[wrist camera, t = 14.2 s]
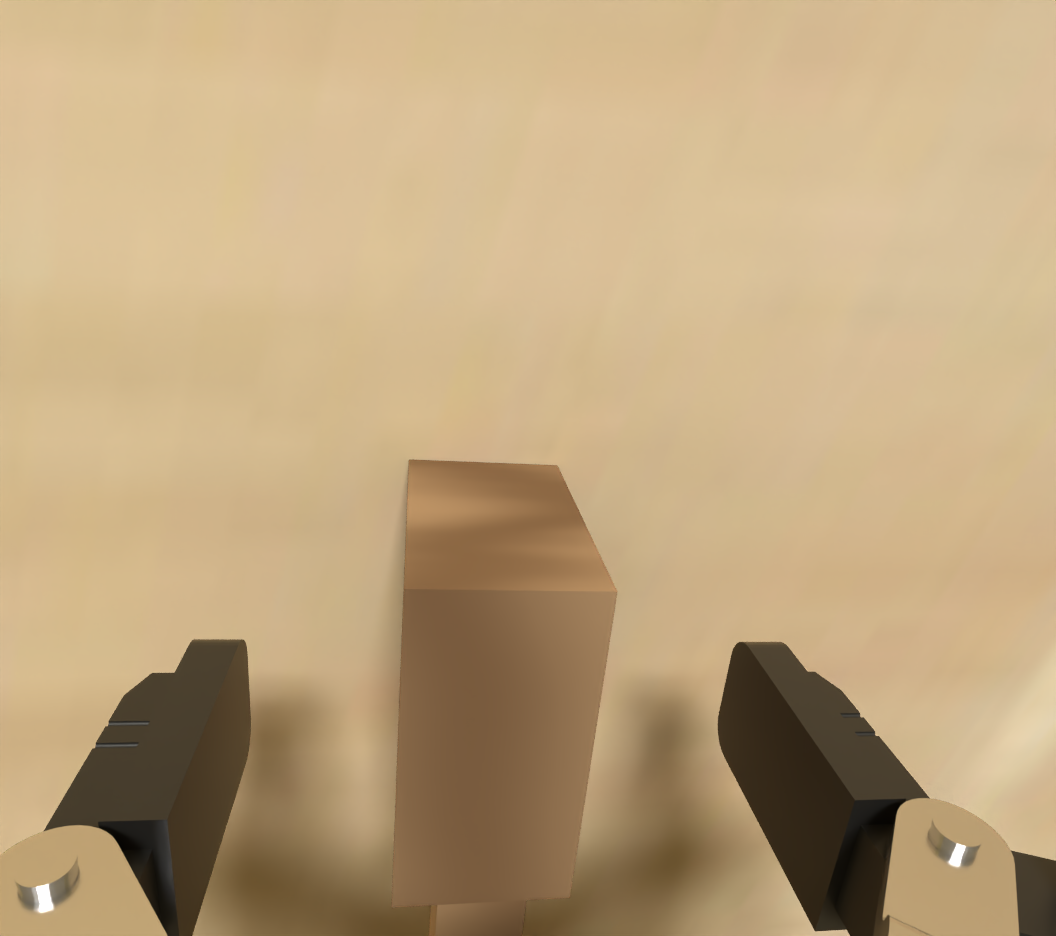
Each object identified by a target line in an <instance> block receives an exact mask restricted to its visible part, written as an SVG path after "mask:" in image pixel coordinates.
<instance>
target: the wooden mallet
mask: <svg viewBox="0 0 1056 936" xmlns="http://www.w3.org/2000/svg"><path fill="white" fill-rule="evenodd" d="M616 597H617V590H616V588H615V586H614V584H613V582H612V579H611V577H610V575H609V573H608V571H607V569H606V567H605V565H604V563H603V561H602V558H601V556H600V554H599V552H598V550H597V548H596V546H595V544H594V542H593V539H592V537H591V535H590V533H589V531H588V529H587V527H586V525H585V523H584V521H583V518H582V516H581V514H580V512H579V510H578V508H577V506H576V504H575V502H574V500H573V497H572V495H571V493H570V491H569V489H568V487H567V485H566V483H565V481H564V479H563V476H562V474H561V472H560V470H559V468H558V466H556V465H530V464H505V463H480V462H455V461H430V460H409V470H408V495H407V521H406V546H405V571H404V597H403V622H402V647H401V673H400V698H399V724H398V751H397V778H396V804H395V831H394V858H393V885H392V907H410V906H429V905H431V910H430V925H429V936H522V932H523V924H524V916H525V908H526V900H538V899H556V898H570V893H571V887H572V880H573V874H574V867H575V861H576V855H577V848H578V842H579V835H580V829H581V822H582V816H583V809H584V803H585V797H586V790H587V784H588V777H589V771H590V764H591V758H592V752H593V745H594V739H595V732H596V726H597V719H598V713H599V707H600V700H601V694H602V687H603V681H604V674H605V668H606V662H607V655H608V649H609V642H610V636H611V629H612V623H613V617H614V610H615V604H616Z"/></svg>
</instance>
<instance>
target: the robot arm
mask: <svg viewBox="0 0 1056 936" xmlns="http://www.w3.org/2000/svg"><path fill="white" fill-rule="evenodd" d="M250 732H251V715H250V695H249V676H248V656H247V646H246V643H245V641H244V640H192V642H191V643H190V644H189V646H188V648H187V650H186V652H185V654H184V656H183V658H182V660H181V662H180V664H179V666H178V667H177V669H176V671H175V673H152V674H150V675H149V676H148V677H146V678H145V679H144V680H143V681H141V682H140V683H139V684H138V685H136V686H135V687H134V688H133V689H131V690H130V691H129V692H128V693H126V694H125V695H124V696H123V698H122V700H121V701H120V703H119V705H118V706H117V708H116V710H115V712H114V713H113V715H112V717H111V718H110V720H109V725H108V726H106V727H105V728H104V730H103V732H102V733H101V735H100V737H99V739H98V740H97V742H96V747H95V749H92V750H91V752H90V754H89V755H88V757H87V759H86V761H85V762H84V764H83V766H82V767H81V769H80V771H79V772H78V774H77V776H76V777H75V779H74V781H73V783H72V784H71V786H70V788H69V789H68V791H67V793H66V794H65V796H64V798H63V799H62V801H61V803H60V804H59V806H58V808H57V810H56V811H55V813H54V815H53V816H52V818H51V820H50V821H49V823H48V825H47V826H46V828H45V830H44V831H43V832H41V833H38V834H36V835H33V836H31V837H29V838H27V839H25V840H23V841H21V842H19V843H17V844H16V845H14V846H13V847H11V848H9V849H8V850H6V851H5V852H4V853H3V854H1V855H0V936H192V934H193V931H194V928H195V925H196V921H197V918H198V915H199V912H200V909H201V905H202V902H203V899H204V896H205V893H206V889H207V886H208V883H209V880H210V876H211V873H212V870H213V867H214V864H215V860H216V857H217V854H218V851H219V848H220V844H221V841H222V838H223V835H224V832H225V828H226V825H227V822H228V819H229V816H230V812H231V809H232V806H233V803H234V800H235V796H236V793H237V790H238V787H239V784H240V780H241V777H242V774H243V771H244V768H245V764H246V760H247V756H248V750H249V743H250ZM718 736H719V742H720V746H721V750H722V753H723V755H724V757H725V759H726V761H727V763H728V765H729V767H730V769H731V771H732V772H733V774H734V776H735V778H736V780H737V782H738V784H739V786H740V788H741V790H742V792H743V794H744V796H745V797H746V799H747V801H748V803H749V805H750V807H751V809H752V811H753V813H754V815H755V817H756V819H757V821H758V822H759V824H760V826H761V828H762V830H763V832H764V834H765V836H766V838H767V840H768V842H769V844H770V846H771V847H772V849H773V851H774V853H775V855H776V857H777V859H778V861H779V863H780V865H781V867H782V869H783V871H784V872H785V874H786V876H787V878H788V880H789V882H790V884H791V886H792V888H793V890H794V892H795V894H796V896H797V898H798V899H799V901H800V903H801V905H802V907H803V909H804V911H805V913H806V915H807V917H808V919H809V921H810V923H811V924H812V926H813V928H814V930H815V931H828V930H845V929H847V931H848V933H849V934H850V936H1056V861H1054V860H1050V859H1045V858H1041V857H1037V856H1032V855H1028V854H1023V853H1019V852H1015V851H1011V850H1010V848H1009V847H1008V845H1007V844H1006V842H1005V841H1004V840H1003V839H1002V837H1001V836H1000V835H999V834H998V833H997V832H996V831H995V830H994V829H993V828H992V827H991V826H989V825H988V824H987V823H986V822H984V821H983V820H982V819H980V818H978V817H977V816H975V815H974V814H972V813H970V812H968V811H967V810H965V809H963V808H960V807H958V806H956V805H953V804H951V803H948V802H945V801H940V800H936V799H930V798H929V797H928V796H927V794H926V793H925V792H924V791H923V789H922V788H921V787H920V786H919V785H918V783H917V782H916V781H915V780H914V778H913V777H912V776H911V775H910V774H909V772H908V771H907V770H906V769H905V767H904V766H903V765H902V764H901V763H900V761H899V760H898V759H897V758H896V756H895V755H894V754H893V753H892V752H891V750H890V749H889V748H888V747H887V745H886V744H885V743H884V742H883V741H882V739H881V738H880V737H879V736H875V731H874V730H873V728H872V727H871V726H870V725H869V724H868V722H867V721H866V720H865V719H864V718H861V717H860V713H859V711H858V710H857V709H856V708H855V706H854V705H853V704H852V703H851V702H850V700H849V699H848V698H847V697H846V695H845V694H844V693H843V692H842V691H841V690H840V689H838V688H837V687H836V686H834V685H833V684H831V683H830V682H828V681H827V680H826V679H824V678H823V677H821V676H820V675H819V674H817V673H816V672H807V671H806V669H805V668H804V667H803V665H802V664H801V663H800V662H799V660H798V659H797V658H796V656H795V655H794V654H793V653H792V651H791V650H790V649H789V648H788V646H787V645H786V644H784V643H782V642H739V643H737V644H736V645H735V647H734V649H733V651H732V655H731V660H730V664H729V669H728V674H727V678H726V683H725V688H724V692H723V697H722V702H721V706H720V711H719V716H718Z"/></svg>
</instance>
